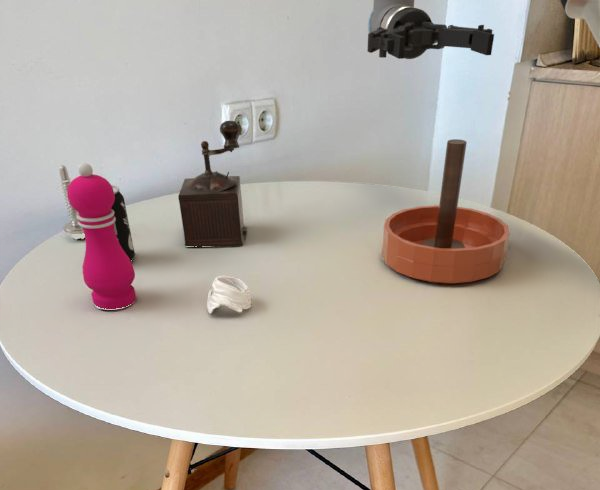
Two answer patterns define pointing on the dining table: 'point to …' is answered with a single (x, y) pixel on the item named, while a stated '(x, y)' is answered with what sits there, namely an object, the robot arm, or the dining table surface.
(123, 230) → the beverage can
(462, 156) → the brown peg stand
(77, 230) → the screw
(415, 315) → the dining table surface
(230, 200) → the manual coffee grinder
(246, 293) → the white turban
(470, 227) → the bowl
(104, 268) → the pepper mill
